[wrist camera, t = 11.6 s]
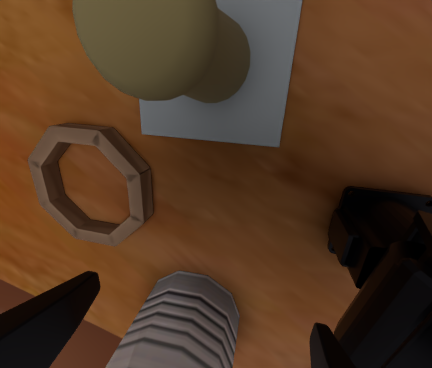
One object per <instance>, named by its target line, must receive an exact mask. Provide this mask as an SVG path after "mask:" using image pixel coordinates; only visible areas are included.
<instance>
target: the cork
mask: <svg viewBox="0 0 432 368" xmlns="http://www.w3.org/2000/svg"><path fill="white" fill-rule="evenodd" d="M73 15H74V20H75V25H76V30H77V35H78V37H79V39H80V41H81V44H82V46H83V48H84V50H85V52H86V55H87V56H88V58H89V59H90V61H91V62H92V63H93V65H94V66H95V67H96V68H97V70H98V71H99V72H100V74H101V75H102V76H103V78H104V79H105V80H107V81H108V82H109V83H111V84H112V85H113V86H115V87H116V88H117V89H118V90H120V91H121V92H123V93H126V94H128V95H131V96H133V97H136V98H139V99H142V100H145V101H166V100H171V99H174V98H176V97H179V96H181V95H185V96H187V97H190V98H192V99H195V100H198V101H200V102H203V103H218V102H221V101H224V100H227V99H229V98H230V97H231V96H232V95H234V94H235V93H236V92H237V91H238V90H239V89H240V87H241V86H242V84H243V83H244V81H245V80H246V77H247V74H248V71H249V68H250V52H251V51H250V47H249V43H248V39H247V36H246V35H245V33H244V31H243V30H242V28H241V27H240V25H239V24H238V23H237V22H236V21H234V20H233V19H232V18H231V17H229V16H228V15H227V14H225V13H224V12H223V11H221V10H220V9H219V8H218V7H217V4H216V0H73Z"/></svg>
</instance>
